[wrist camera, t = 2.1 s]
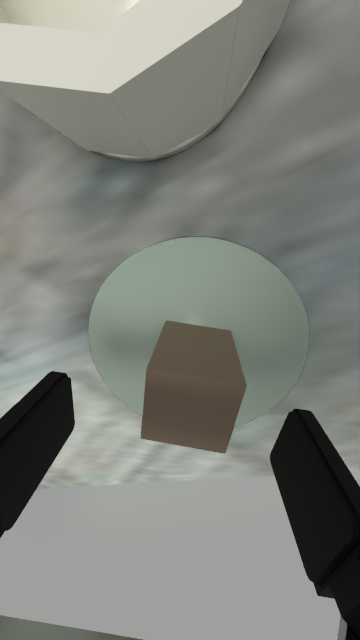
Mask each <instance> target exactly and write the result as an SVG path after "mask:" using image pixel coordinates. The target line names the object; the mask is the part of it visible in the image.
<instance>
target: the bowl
mask: <svg viewBox="0 0 360 640" xmlns="http://www.w3.org/2000/svg"><path fill="white" fill-rule="evenodd" d="M289 3H290V0H0V91H1V92H3V93H4V94H6V95H7V96H8V97H10V98H11V99H13V100H14V101H16V102H17V103H19V104H20V105H21V106H23V107H24V108H26V109H27V110H29V111H30V112H31V113H33V114H34V115H36V116H37V117H39V118H40V119H42V120H43V121H44V122H46V123H47V124H49V125H50V126H52V127H53V128H54V129H56V130H57V131H59V132H60V133H62V134H63V135H64V136H66V137H67V138H69V139H70V140H72V141H73V142H75V143H76V144H77V145H79V146H80V147H82V148H83V149H85V150H89V151H95V152H97V153H100V154H102V155H105V156H108V157H110V158H114V159H119V160H124V161H136V162H144V161H152V160H159V159H162V158H166V157H169V156H172V155H175V154H177V153H179V152H181V151H183V150H186V149H188V148H189V147H191V146H192V145H194V144H195V143H197V142H199V141H200V140H202V139H203V138H204V137H205V136H206V135H208V134H209V133H210V132H211V131H212V130H213V129H215V128H216V127H217V126H218V125H219V124H220V122H221V121H222V120H223V119H224V118H225V117H226V116H227V115H228V114H229V113H230V112H231V110H232V109H233V107H234V106H235V105H236V103H237V102H238V101H239V99H240V98H241V96H242V95H243V94H244V92H245V90H246V88H247V87H248V85H249V83H250V82H251V80H252V78H253V76H254V75H255V73H256V71H257V69H258V66H259V64H260V62H261V60H262V58H263V55H264V53H265V51H266V50H267V48H268V47H269V45H270V44H271V42H272V40H273V39H274V37H275V36H276V34H277V33H278V31H279V29H280V27H281V24H282V21H283V19H284V16H285V13H286V11H287V8H288V6H289Z"/></svg>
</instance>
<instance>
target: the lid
mask: <svg viewBox="0 0 360 640" xmlns="http://www.w3.org/2000/svg"><path fill="white" fill-rule="evenodd" d="M88 337H89V345H90V350H91V354H92V358H93V361H94V363H95V366H96V368H97V371H98V372H99V374H100V376H101V378H102V380H103V381H104V382H105V384H106V385H107V387H108V388H109V389H110V391H111V392H112V393H113V394H114V395H115V396H116V397H117V398H118V399H119V400H120V401H121V402H123V403H124V404H125V405H126V406H127V407H129V408H130V409H132V410H133V411H134V412H136V413H138V414H139V415H141V416H143V417H142V430H141V438H142V439H147V440H153V441H158V442H164V443H169V444H175V445H180V446H186V447H192V448H197V449H203V450H208V451H214V452H219V453H226V449H227V446H228V443H229V440H230V437H231V434H232V431H233V428H234V427H235V426H239V425H242V424H244V423H247V422H250V421H252V420H254V419H256V418H258V417H260V416H262V415H263V414H265V413H266V412H268V411H269V410H271V409H272V408H273V407H274V406H276V405H277V404H278V403H279V402H281V400H282V399H283V398H284V397H285V396H286V395H287V394H288V393H289V392H290V390H291V389H292V388H293V386H294V385H295V383H296V382H297V380H298V378H299V376H300V374H301V373H302V370H303V368H304V365H305V362H306V359H307V354H308V349H309V325H308V318H307V315H306V311H305V308H304V305H303V303H302V301H301V299H300V297H299V295H298V292H297V291H296V289H295V288H294V286H293V285H292V284H291V282H290V281H289V279H288V278H287V277H286V276H285V275H284V274H283V273H282V272H281V271H280V270H279V269H278V268H277V267H276V266H275V265H274V264H272V263H271V262H270V261H268V260H267V259H266V258H264V257H263V256H261V255H259V254H258V253H256V252H254V251H252V250H250V249H248V248H246V247H243V246H241V245H238V244H235V243H232V242H230V241H225V240H221V239H216V238H207V237H186V238H178V239H173V240H168V241H164V242H161V243H158V244H155V245H152V246H150V247H147V248H145V249H143V250H141V251H139V252H138V253H136V254H134V255H132V256H131V257H129V258H128V259H127V260H125V261H124V262H123V263H121V264H120V265H119V266H118V267H117V268H116V269H115V270H114V271H113V272H112V273H111V274H110V275H109V277H108V278H107V279H106V281H105V282H104V284H103V285H102V286H101V288H100V290H99V292H98V294H97V296H96V298H95V300H94V303H93V306H92V309H91V313H90V319H89V334H88Z"/></svg>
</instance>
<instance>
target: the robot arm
mask: <svg viewBox="0 0 360 640" xmlns="http://www.w3.org/2000/svg"><path fill="white" fill-rule="evenodd" d="M74 425H75V420H74V409H73V398H72V387H71V379H70V378H69V377H68V376H67V374H66V373H61V372H54V371H52V372H50V373H48V374H47V375H46V376H45V377H44V378H43V379H42V380H41V381H40V382H39V383H38V384H37V385H36V386H35V387H34V388H33V389H32V390H31V391H29V392H28V393H27V394H26V395H25V396H24V397H23V398H22V399H21V400H20V401H19V402H18V403H17V404H16V405H14V406H13V407H12V408H11V409H10V410H9V411H8V412H7V413H6V414H5V415H4V416H3V417H2V418H1V419H0V538H1V536H2V535H3V533H4V532H5V530H6V531H7V530H9V529H10V528H11V527H12V526H13V525H14V523H15V522H16V520H17V519H18V517H19V515H20V514H21V512H22V511H23V509H24V508H25V506H26V504H27V503H28V501H29V499H30V498H31V496H32V495H33V493H34V492H35V490H36V488H37V487H38V485H39V484H40V482H41V480H42V479H43V477H44V476H45V474H46V472H47V471H48V469H49V468H50V466H51V464H52V463H53V461H54V460H55V458H56V456H57V455H58V453H59V452H60V450H61V448H62V447H63V445H64V444H65V442H66V440H67V439H68V437H69V436H70V434H71V432H72V431H73V428H74ZM270 461H271V465H272V468H273V471H274V475H275V478H276V481H277V484H278V487H279V490H280V493H281V496H282V499H283V502H284V506H285V509H286V512H287V515H288V518H289V521H290V525H291V527H292V531H293V534H294V537H295V540H296V543H297V546H298V549H299V552H300V556H301V559H302V562H303V565H304V568H305V571H306V574H307V576H308V578H309V579H310V581H312V582H313V583H314V586H315V589H316V592H317V595H318V596H323V597H329V598H334V599H335V601H336V603H337V606H338V608H339V611H340V614H341V618H340V625H339V632H338V639H337V640H360V487H359V485H358V483H357V482H356V480H355V479H354V477H353V476H352V474H351V472H350V471H349V469H348V468H347V466H346V465H345V463H344V462H343V460H342V458H341V457H340V455H339V454H338V452H337V451H336V449H335V447H334V446H333V444H332V443H331V441H330V440H329V438H328V436H327V435H326V433H325V432H324V430H323V429H322V427H321V426H320V424H319V422H318V421H317V419H316V418H315V416H314V415H313V413H312V412H311V411H307V410H301V409H294V410H293V411H292V412H289V413H288V416H287V418H286V420H285V422H284V425H283V427H282V429H281V431H280V434H279V436H278V438H277V440H276V443H275V445H274V447H273V449H272V452H271V454H270ZM0 640H141V639H135V638H130V637H124V636H118V635H113V634H107V633H101V632H95V631H90V630H84V629H78V628H72V627H66V626H60V625H54V624H48V623H42V622H36V621H30V620H25V619H19V618H13V617H7V616H1V615H0Z"/></svg>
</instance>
